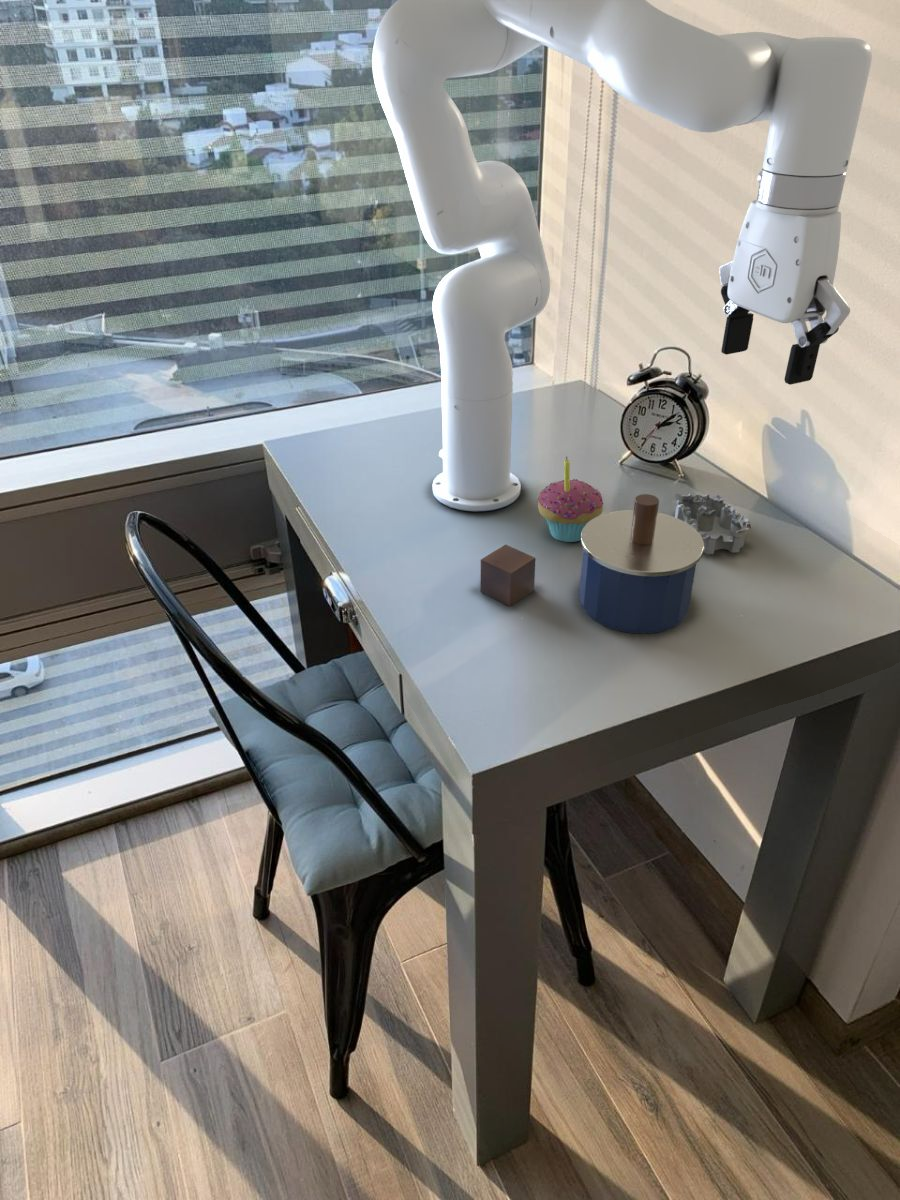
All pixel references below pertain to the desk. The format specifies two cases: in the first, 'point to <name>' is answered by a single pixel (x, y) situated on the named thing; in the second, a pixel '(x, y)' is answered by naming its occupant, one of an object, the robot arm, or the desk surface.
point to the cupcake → (569, 506)
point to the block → (507, 575)
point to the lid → (642, 540)
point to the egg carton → (713, 521)
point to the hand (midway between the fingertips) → (764, 366)
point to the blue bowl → (634, 598)
